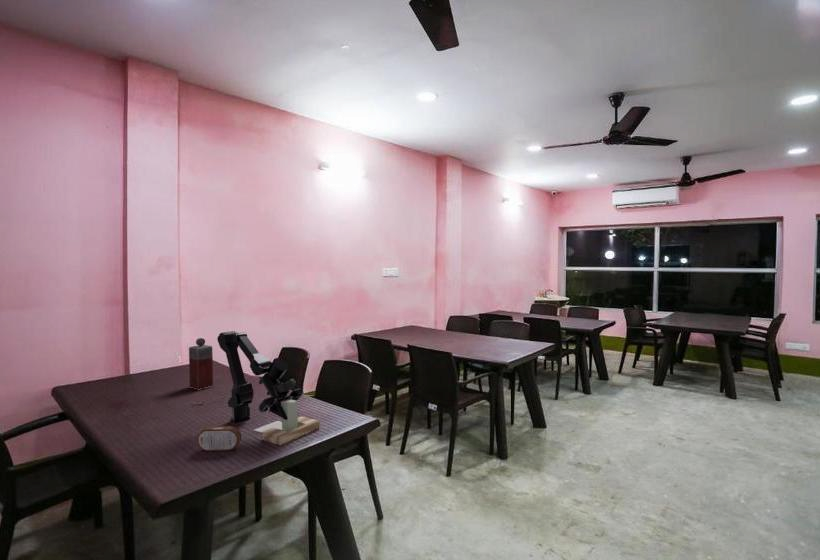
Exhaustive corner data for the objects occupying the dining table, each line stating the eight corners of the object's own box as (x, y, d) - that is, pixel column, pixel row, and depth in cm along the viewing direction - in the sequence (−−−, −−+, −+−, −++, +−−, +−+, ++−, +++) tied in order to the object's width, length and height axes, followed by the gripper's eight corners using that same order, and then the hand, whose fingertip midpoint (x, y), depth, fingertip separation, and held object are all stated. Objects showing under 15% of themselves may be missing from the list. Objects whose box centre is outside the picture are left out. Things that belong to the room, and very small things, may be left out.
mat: (253, 430, 167) (253, 429, 167) (277, 421, 178) (277, 420, 178) (269, 435, 162) (269, 434, 162) (293, 426, 172) (293, 425, 172)
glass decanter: (202, 383, 241) (201, 336, 241) (213, 386, 235) (212, 337, 234) (187, 387, 234) (186, 338, 233) (197, 390, 227) (196, 339, 227)
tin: (241, 447, 151) (241, 424, 151) (238, 451, 148) (238, 428, 148) (200, 448, 151) (199, 425, 151) (196, 452, 148) (195, 429, 148)
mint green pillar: (276, 434, 163) (275, 403, 163) (291, 428, 170) (291, 398, 170) (288, 438, 159) (287, 406, 159) (303, 431, 166) (303, 400, 166)
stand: (262, 439, 158) (262, 431, 158) (301, 423, 175) (301, 416, 175) (280, 445, 153) (280, 437, 153) (319, 428, 170) (319, 420, 169)
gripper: (263, 378, 158) (282, 412, 153) (300, 369, 174) (319, 399, 168) (250, 396, 163) (269, 429, 157) (287, 385, 178) (306, 414, 173)
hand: (292, 417), depth 164 cm, fingers closed on mint green pillar, 5 cm apart
